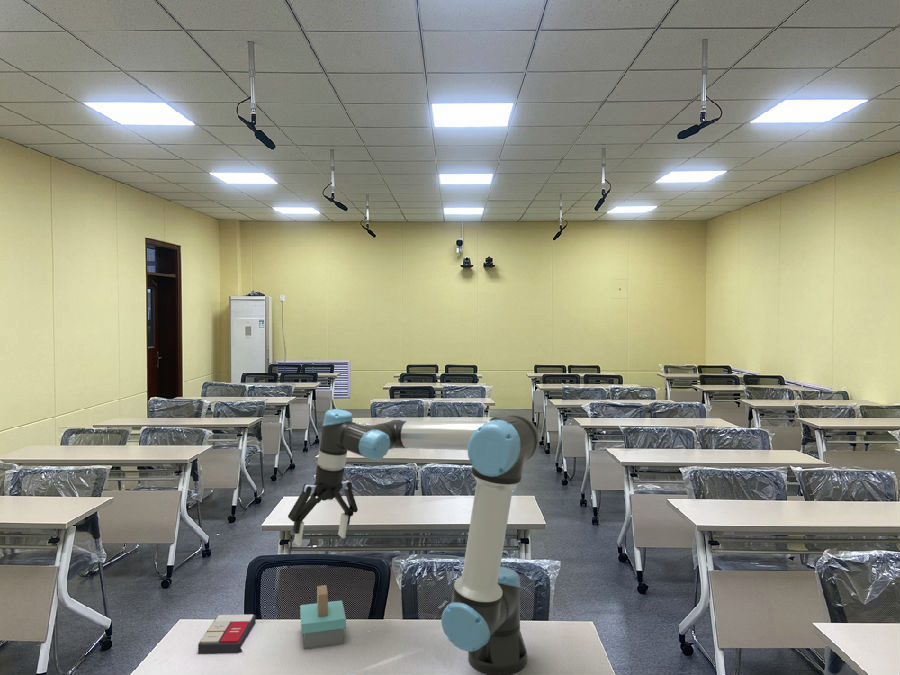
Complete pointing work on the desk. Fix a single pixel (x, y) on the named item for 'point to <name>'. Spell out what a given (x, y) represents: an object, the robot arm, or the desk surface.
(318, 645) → the storage box
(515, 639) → the robot arm
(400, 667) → the desk surface
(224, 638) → the calculator
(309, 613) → the lid
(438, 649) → the desk surface
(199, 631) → the desk surface
